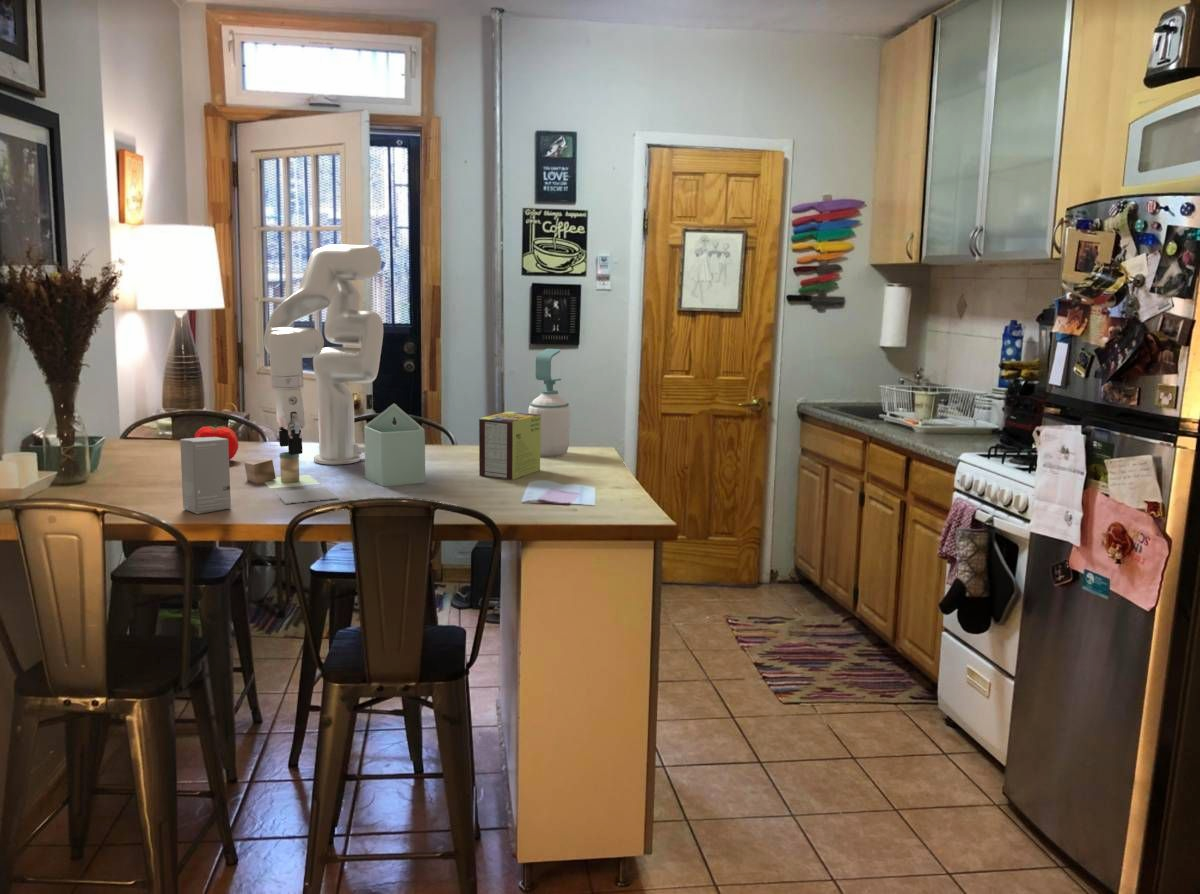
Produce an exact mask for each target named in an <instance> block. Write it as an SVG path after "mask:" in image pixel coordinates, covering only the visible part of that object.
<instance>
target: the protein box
mask: <svg viewBox="0 0 1200 894" xmlns="http://www.w3.org/2000/svg"><path fill="white" fill-rule="evenodd" d="M478 425H479V426H478V429H479V430H478V434H479V435H478V439H479V440H478V444H479V445H478V447H479V449H478V451H479V452H478V459H479V460H478V461H479V463H478V464H479V465H478V468H479V471H478V472H479V476H480V477H486V478H496V479H502V480H508V481H509V480H510V481H513V480H515V479H519V478H521V477H524V476H526V475H530V474H534V473H536V472H539V471H540V470H541V457H540V441H541V414H530V413H528V412H520V411H519V412H517V411H505V412H501V413H497V414H496V413H495V414H492V415H487V416H484V417H481V418H479V419H478Z"/></svg>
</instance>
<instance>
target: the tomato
mask: <svg viewBox="0 0 1200 894" xmlns="http://www.w3.org/2000/svg"><path fill="white" fill-rule="evenodd" d="M200 437H202V438H204V437H219V438H225V439H228V446H229V461H231V459H233V458H234V457H235V456H236V455H237V452H238V449H239V441H238V436H237V434H236V432H234V430H232V429H231V428H230V427H227V426H226V425H221V426H218V425H217V424H215V425H214V426H212V425H209V426H201V428H199V429H198V430H197V431H196V432H195V434H194V437H193V438H200Z"/></svg>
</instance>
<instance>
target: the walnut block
mask: <svg viewBox="0 0 1200 894" xmlns="http://www.w3.org/2000/svg"><path fill="white" fill-rule="evenodd" d="M273 461H274V460H273V459H271V458H267V457H259V458H256V459H251V460H248V461H244V462H243V463H244V470H245V475H246V480H247V481H248V482H252V483H254V484H263V483H264V482H267V481H271V480H274V479H276V472H275V467H274V462H273Z"/></svg>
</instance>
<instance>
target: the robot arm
mask: <svg viewBox="0 0 1200 894" xmlns="http://www.w3.org/2000/svg"><path fill="white" fill-rule="evenodd" d="M308 258H309V259H308V261H307V264H306V265H305V269H304V272H303V275H302V279H301V281H300V283H299V285H298V286H299V287H298V290H297V291H296V292H294V293H293V294H291V295H290V296H289V297H287V298H286V299H284V300H283V301H282V302H281V303H280V304H279V305H278V306H277V307H276V308H275V309H274V310H273V312H271V314H270V317H269V318H268V322H267V325H266V328H265V331H264V336H263V345H264V349H265V351H266V352H267V353H268V354H269V369H270V389H272V390H275V394H274V395H275V408H276V411H275V413H276V414H275V415H276V421H277V423H278V438H279V439H278V440H279V447H281V448H282V447H287V448H288V452H289V454H290V455H294V454H299V455H301V454H303V438H302V437H303V435H302V430H301V429H304V428H305V427H306V421H305V411H304V400H303V399H304V398H303V395H302V394H303V393H302V390H301V389H304V373H303V372H304V369H303V359H305V358H309V359H311V358H312V366H313V372H314V376H315V381H316V389H317V416H318V417H317V418H318V420H317V421H318V442H319V443H318V445H319V446H318V447H319V451H318V453H319V454H317V455H315V456H313V462H315V463H316V464H321V465H333V466H334V465H347V464H354V463H358V462H360V461H361V460H362V459H361V458H362V457H361V456H362V455H361V454H362V453H364V454H365V445H359V444H357V443H356V441H355V439H356V438H355V402H354V395H353V393H352V391H351V390H350V388H349V386H348V385H347V384H346V383H349V384H350V383H355V384H370V383H373V382H375V380H376V379H377V376H378V373H379V369H380V364H381V363H380V362H381V355H382V347H383V339H384V323H383V320H382V317H381V316H380V314H379V313H377V312H375V311H371V310H360V304H361V293H360V292H359V290H358V289H359V288H358V287H357V286H356V285H355V284H354V282H353V281H355V282H356V281H363V280H366V279H370V278H374V277H375V276H376V275H378V274H379V272H380V270H381V267H382V256H381V253H380V250H379V249H378V248H377V247H376V246H374V245H370V244H341V243H340V244H339V243H337V244H335V243H334V244H327V245H325V246H323V247H319V248H315V250H313V251H312V253H311V254H310V255H309V257H308ZM325 309H326V315H325V320H324V328H323V329H324V331H323V332H324V336H323V334H322V332H320V331H319V329H317V328H313V327H302V326H301V327H300V326H291V324H293V323H294V322H296V321H297V320H299V319H301V318H305V317H306V316H310V315H313V314H315V313H318V312H321V311H323V310H325ZM324 337H325V339H326V340H327V342H328V343H329V342H330V343H332V344H334V345H335V344H336V345H350V346H361V347H348V346H347V347H346V346H327V347H324V345H325V339H324Z"/></svg>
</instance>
